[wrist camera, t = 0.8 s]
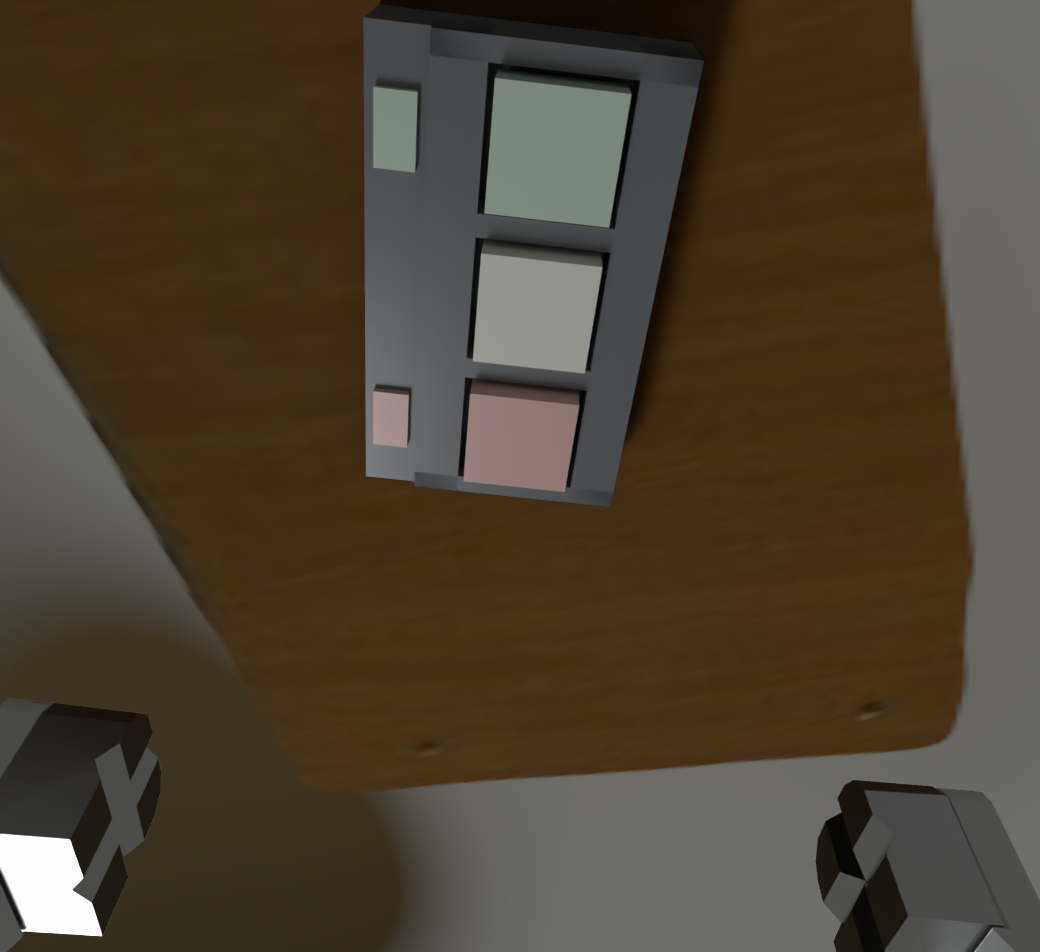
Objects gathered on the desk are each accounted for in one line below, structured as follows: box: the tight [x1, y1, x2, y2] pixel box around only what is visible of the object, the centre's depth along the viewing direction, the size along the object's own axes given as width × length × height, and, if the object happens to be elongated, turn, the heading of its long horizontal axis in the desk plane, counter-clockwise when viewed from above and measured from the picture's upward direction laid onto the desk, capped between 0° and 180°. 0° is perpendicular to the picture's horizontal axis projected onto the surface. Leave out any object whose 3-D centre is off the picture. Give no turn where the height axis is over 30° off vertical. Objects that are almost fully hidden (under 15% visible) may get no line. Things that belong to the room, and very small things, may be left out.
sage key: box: [484, 69, 631, 228], centre depth 40 cm, size 6×6×2 cm
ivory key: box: [473, 239, 602, 374], centre depth 44 cm, size 6×6×2 cm
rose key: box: [463, 378, 579, 492], centre depth 49 cm, size 6×6×2 cm
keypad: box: [364, 5, 704, 507], centre depth 46 cm, size 25×15×4 cm, turn 174°
